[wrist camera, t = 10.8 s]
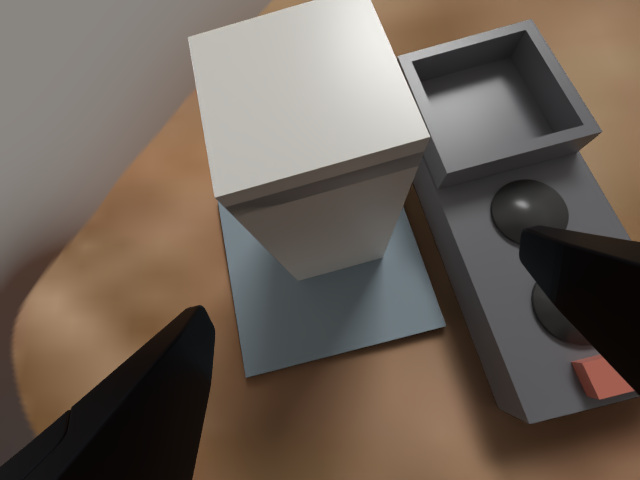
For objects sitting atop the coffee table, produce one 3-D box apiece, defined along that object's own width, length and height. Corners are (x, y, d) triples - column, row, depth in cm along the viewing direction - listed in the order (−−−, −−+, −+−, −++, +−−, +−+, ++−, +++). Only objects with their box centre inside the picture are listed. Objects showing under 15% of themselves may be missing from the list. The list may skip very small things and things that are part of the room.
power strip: (648, 370, 14) (765, 384, 10) (498, 408, 14) (555, 437, 10) (496, 84, 18) (533, 18, 15) (386, 114, 19) (395, 56, 15)
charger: (382, 257, 16) (430, 137, 6) (298, 281, 16) (214, 197, 6) (357, 181, 17) (364, -15, 7) (279, 203, 17) (187, 37, 8)
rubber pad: (443, 326, 15) (446, 326, 14) (248, 376, 15) (245, 377, 15) (382, 155, 18) (383, 151, 17) (220, 199, 18) (217, 196, 18)
